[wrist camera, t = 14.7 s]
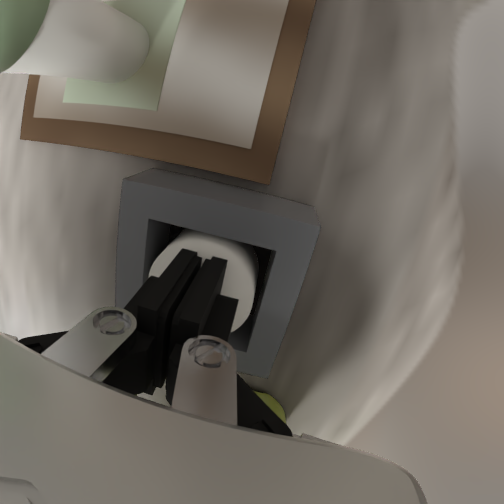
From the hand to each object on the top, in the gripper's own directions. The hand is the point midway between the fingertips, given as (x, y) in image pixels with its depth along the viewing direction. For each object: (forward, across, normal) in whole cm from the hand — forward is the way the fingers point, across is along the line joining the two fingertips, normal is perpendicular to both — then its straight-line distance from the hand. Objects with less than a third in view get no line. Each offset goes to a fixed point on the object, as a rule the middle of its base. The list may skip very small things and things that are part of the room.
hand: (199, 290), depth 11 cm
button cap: (+2, 0, 0) cm, 2 cm away
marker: (+2, +6, -8) cm, 10 cm away
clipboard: (+3, +5, -12) cm, 13 cm away
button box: (+3, 0, 0) cm, 3 cm away
